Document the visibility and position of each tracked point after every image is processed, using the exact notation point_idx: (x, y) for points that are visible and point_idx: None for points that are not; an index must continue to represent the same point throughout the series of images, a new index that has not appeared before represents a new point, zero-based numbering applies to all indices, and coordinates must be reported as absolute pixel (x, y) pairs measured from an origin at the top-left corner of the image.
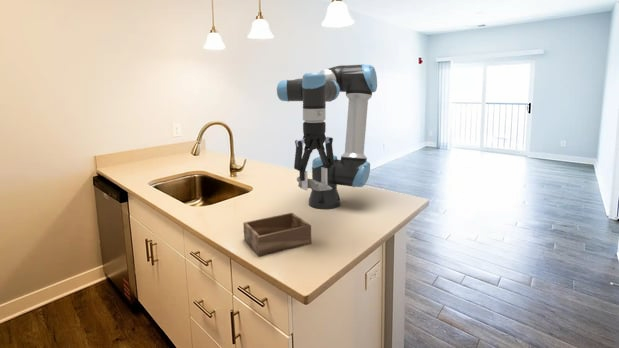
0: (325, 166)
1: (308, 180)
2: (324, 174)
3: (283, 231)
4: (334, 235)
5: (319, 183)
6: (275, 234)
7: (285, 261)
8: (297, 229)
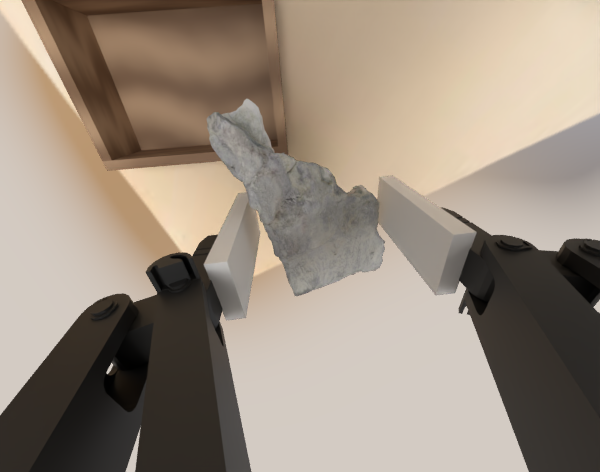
0: (471, 280)
1: (272, 240)
2: (410, 248)
3: (191, 161)
4: (367, 125)
5: (319, 281)
6: (164, 165)
7: (202, 202)
8: None
